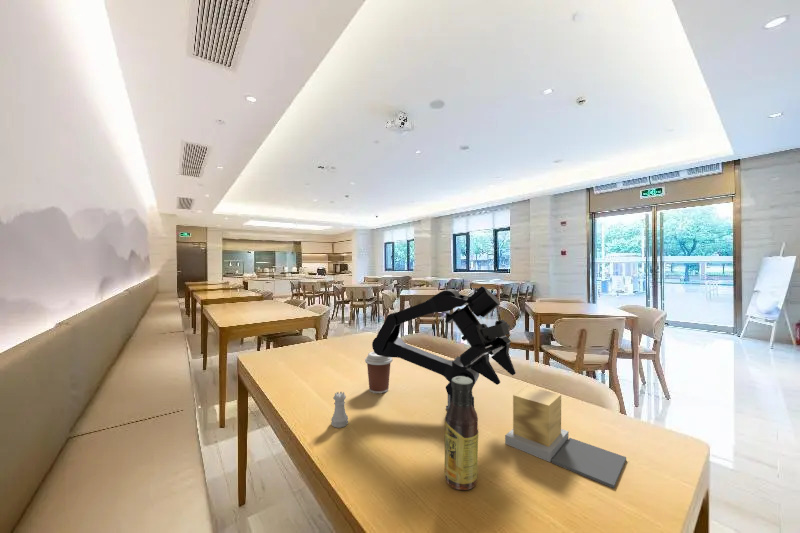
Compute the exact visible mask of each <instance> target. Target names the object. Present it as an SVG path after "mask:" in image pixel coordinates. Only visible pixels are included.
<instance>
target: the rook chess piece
mask: <svg viewBox="0 0 800 533" xmlns="http://www.w3.org/2000/svg"><path fill="white" fill-rule="evenodd" d="M346 398H347V396H346V395H345V392H344V391H343V392H342V391H336V393H335V392H334V396H333V401H334V412H333V414H332V417H331V419H330V420H331V422H330V424H331V426H332V427H333V428H336V429H341V428H344V427H346V426H347V425H348V423H349V417H348V414H347V413H346V409H345V404H346V401H345V400H346Z"/></svg>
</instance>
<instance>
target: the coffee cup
mask: <svg viewBox="0 0 800 533" xmlns="http://www.w3.org/2000/svg"><path fill="white" fill-rule="evenodd" d="M364 362H365V363H366V364H367V365H366V366H367V377H368V378H367V380H368V389H369V392H371V393H372V394H384V393H387V392H388V391H389V386H390V373H391V363H392V362H393V357H384V356H380V355H377V354H376V353H375V352H374V350H373V351H370V352H369V353H368V354H367V357H365V358H364Z"/></svg>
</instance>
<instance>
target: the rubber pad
mask: <svg viewBox="0 0 800 533" xmlns="http://www.w3.org/2000/svg"><path fill="white" fill-rule="evenodd" d="M626 462H627V457H626V456H624V455H621V454H618V453H615V452H612V451H610V450H606V449H604V448H600V447H599V446H596V445H592V444H590V443H587V442H584V441H580V440H578V439H575V438H572V437H568V441H567V442H566V443H565V444H564V446H563V447H562V448H561V449H560V451H559V452H558V453H557V454H556V456H555V457H554V458H553V459H552V461H551V464H553V465H555V466H558V467H561V468H563V469H566V470H568V471H570V472H573V473H575V474H577V475H580V476H583V477H585V478H588V479H590V480H593V481H595V482H597V483H600V484H602V485H604V486H606V487H610V488H611V489H615V487H616V485H617V483H618V481H619V478H620V475H621V474H622V471H623V468H624V466H625V463H626Z"/></svg>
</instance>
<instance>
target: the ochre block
mask: <svg viewBox="0 0 800 533" xmlns="http://www.w3.org/2000/svg"><path fill="white" fill-rule="evenodd" d="M512 399H513V400H512V418H513V419H512V429H513V434H516V435H518V436H521V437H524V438H526V439H529V440H532V441H534V442H537V443H540V444H542V445H545V446H547V447H549V446H550V445H551V444H552V443H553V442H554V441H555V439H556V438H557V437H558V436H559V435H560V434H561V429H562V394H559V393H556V392H552V391H550V390H549V391H548V390H545V389H541V388H537V387H535V386H534V387H533V386H531V385H530V386H529V385H526V386H525V387H523V388H522V389H520V390H519V391H517V392H516V393H514V394H513V395H512Z"/></svg>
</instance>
